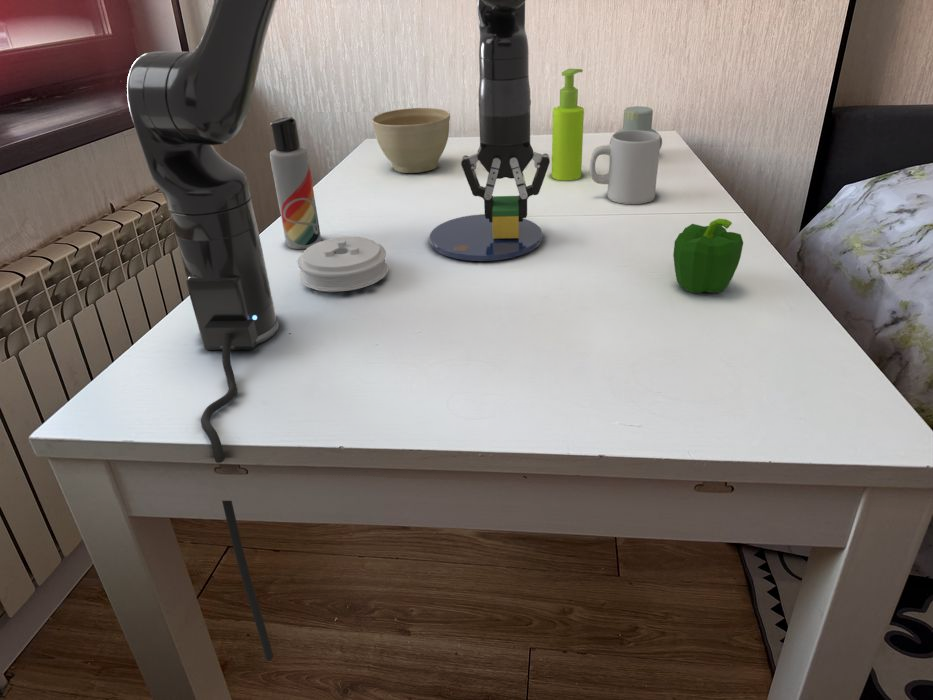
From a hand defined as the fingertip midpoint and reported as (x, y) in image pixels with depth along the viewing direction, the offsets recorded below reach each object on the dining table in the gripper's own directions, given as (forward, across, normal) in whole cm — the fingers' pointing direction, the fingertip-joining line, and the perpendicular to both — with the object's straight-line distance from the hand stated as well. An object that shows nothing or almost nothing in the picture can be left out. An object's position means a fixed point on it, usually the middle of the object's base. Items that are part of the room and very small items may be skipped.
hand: (506, 219), depth 110 cm
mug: (+4, +21, +20) cm, 29 cm away
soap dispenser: (+4, +12, +34) cm, 36 cm away
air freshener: (+4, +27, +46) cm, 53 cm away
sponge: (+2, 0, 0) cm, 2 cm away
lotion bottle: (+3, -33, 0) cm, 33 cm away
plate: (+3, -3, 0) cm, 5 cm away
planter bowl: (+4, -20, +42) cm, 47 cm away
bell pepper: (+4, +27, -18) cm, 32 cm away
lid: (+3, -23, -14) cm, 28 cm away
